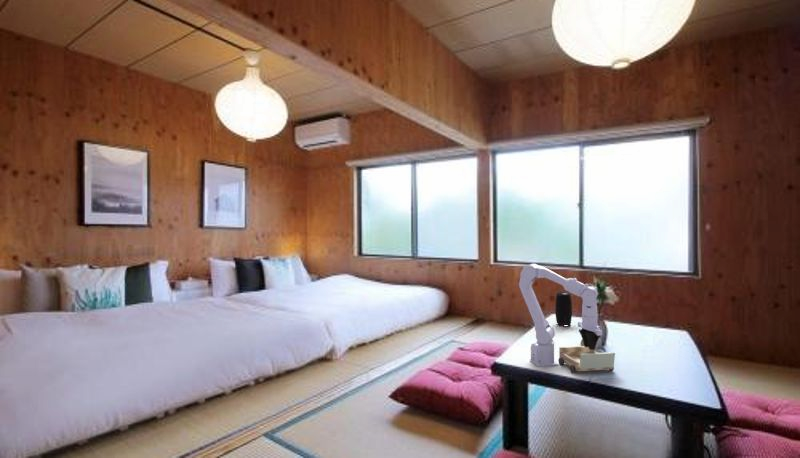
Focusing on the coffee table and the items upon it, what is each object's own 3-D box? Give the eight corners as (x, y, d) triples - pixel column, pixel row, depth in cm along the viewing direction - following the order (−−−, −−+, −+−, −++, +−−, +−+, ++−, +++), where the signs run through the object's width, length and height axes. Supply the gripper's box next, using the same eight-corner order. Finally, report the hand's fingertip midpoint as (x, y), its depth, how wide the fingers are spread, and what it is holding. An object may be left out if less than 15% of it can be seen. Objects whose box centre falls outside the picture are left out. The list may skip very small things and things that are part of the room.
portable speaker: (557, 322, 250) (557, 290, 250) (573, 324, 245) (573, 292, 245) (553, 325, 243) (553, 292, 243) (570, 327, 238) (570, 294, 238)
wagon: (574, 375, 165) (574, 357, 165) (557, 363, 179) (557, 347, 179) (615, 372, 167) (615, 355, 167) (595, 361, 181) (595, 345, 181)
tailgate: (580, 368, 164) (581, 355, 163) (579, 367, 165) (580, 353, 164) (613, 366, 166) (615, 353, 165) (612, 365, 167) (613, 352, 166)
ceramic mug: (579, 351, 195) (579, 335, 195) (585, 347, 201) (585, 331, 201) (602, 356, 188) (602, 340, 187) (608, 352, 193) (608, 336, 193)
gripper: (609, 319, 163) (609, 353, 163) (588, 311, 177) (588, 342, 178) (593, 320, 162) (593, 353, 162) (573, 312, 177) (573, 343, 177)
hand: (589, 348), depth 170 cm, fingers open, 3 cm apart
